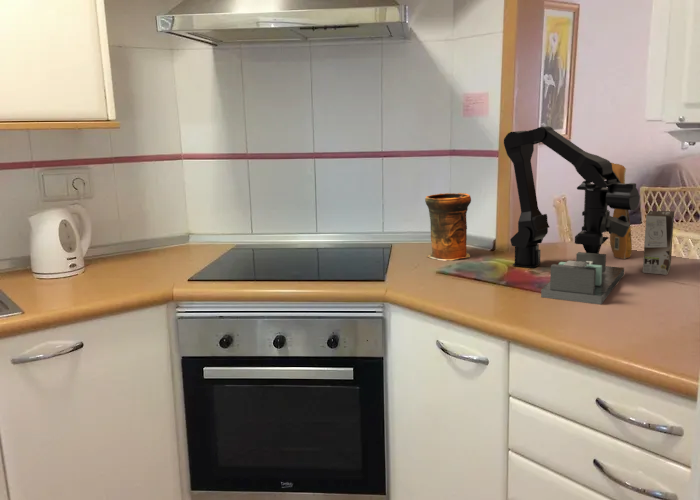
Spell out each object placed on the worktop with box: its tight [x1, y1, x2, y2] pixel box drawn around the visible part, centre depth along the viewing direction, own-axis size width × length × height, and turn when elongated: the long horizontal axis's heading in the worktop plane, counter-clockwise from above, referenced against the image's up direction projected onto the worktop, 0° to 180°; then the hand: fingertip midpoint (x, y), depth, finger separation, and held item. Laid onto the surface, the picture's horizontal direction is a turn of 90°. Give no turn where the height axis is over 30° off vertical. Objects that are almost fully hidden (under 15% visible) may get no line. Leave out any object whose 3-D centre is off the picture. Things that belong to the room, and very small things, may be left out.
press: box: [540, 263, 625, 305], centre depth 157 cm, size 14×29×8 cm, turn 147°
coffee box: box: [642, 210, 675, 276], centre depth 167 cm, size 9×6×16 cm
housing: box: [564, 260, 590, 267], centre depth 149 cm, size 5×5×6 cm
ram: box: [558, 251, 607, 286], centre depth 157 cm, size 10×14×5 cm
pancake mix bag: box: [609, 162, 633, 260], centre depth 187 cm, size 7×19×28 cm, turn 162°
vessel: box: [424, 192, 472, 262], centre depth 194 cm, size 14×14×20 cm
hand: (593, 264), depth 165 cm, fingers closed
